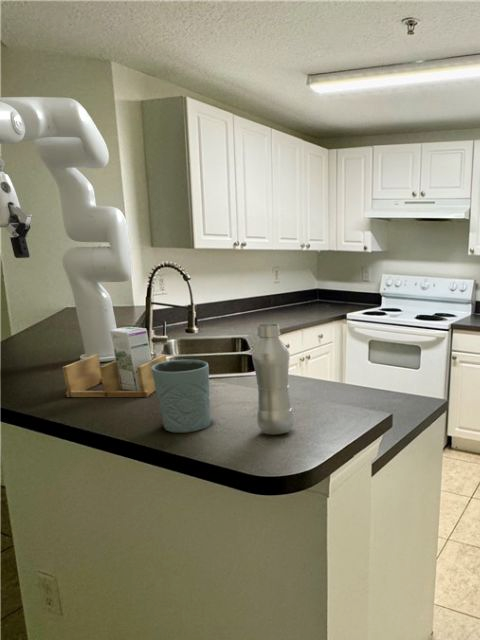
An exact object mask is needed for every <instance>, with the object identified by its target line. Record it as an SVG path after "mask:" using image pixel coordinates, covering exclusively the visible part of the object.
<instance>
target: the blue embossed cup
mask: <svg viewBox="0 0 480 640" xmlns="http://www.w3.org/2000/svg"><path fill="white" fill-rule="evenodd" d="M151 369H152V374H153V378H154V383H155V388H156V391H155V393H156V397H157V400H158V406H159V410H160V414H161V419H162V423H163V428H164V429H165V431H167V432H171V433H178V434H179V433H181V434H183V433H192V432H197V431H201V430H204V429H206V428H208V427H209V426H210V425H211V422H212V421H211V420H212V419H211V400H210V396H211V395H210V394H211V393H210V368H209V363H208V362H207V361H205V360H201V359H174V360H166V362H161V363H157V364H155V365H153V366H152V367H151Z"/></svg>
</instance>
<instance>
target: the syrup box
mask: <svg viewBox="0 0 480 640" xmlns="http://www.w3.org/2000/svg"><path fill="white" fill-rule="evenodd" d="M110 332H111V337H112V342H113V347H114V352H115V357H116V363H117V368H118V373H119V378H120V383H121V388H122V390H121V391H141V388H140V383H139V377H138V371H137V367H138V366H140V365H142V364H144V363H146V362H149V361H151V360H153V359H152V355H151V347H150V342H149V335H148V330H147V328H145V327H135V326H124V327H117V329H114V330H110Z"/></svg>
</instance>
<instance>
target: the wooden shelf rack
mask: <svg viewBox="0 0 480 640" xmlns="http://www.w3.org/2000/svg"><path fill="white" fill-rule="evenodd" d="M166 361H167V355H166V354H164V353H163V354H160V355H159V356H157V357H154V358H153V359H152V360H151V361H149V362H146V363H144V364H142V365H140V366H138V367H137V371H138V377H139V383H140V388H141V391H126V390H122V388H121V383H120V378H119V373H118V368H117V363H116V360H114V361H109V362H108V363H106V364H103V365H101V362H100V361H99V356H98V354H95V355H92V356H90V357H87V358H84V359H82V360H80V359H79V360H76V361H74V362H72V363H68V364H66V365H64V366H62V367H61V368H62V373H63V377H64V382H65V387H66V391H65V394H66V398H148V397H150V395H151V394H153V393H154V392H156V388H155V383H154V378H153V374H152V369H151V367H152V366H153V365H155V364H157V363H161V362H166ZM101 383H102V387H103V388H102V389H103V390H90V389H92V388H93V387H95V386H97V385H100V384H101Z"/></svg>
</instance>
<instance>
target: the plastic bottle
mask: <svg viewBox="0 0 480 640" xmlns="http://www.w3.org/2000/svg"><path fill="white" fill-rule="evenodd" d="M256 328H257V337H259V339H258V341H257V343H256V344H255V346H254V347H253V350H252V354H251V358H252V363H253V364H252V365H253V369H254V372H255V376H256V384H257V390H258V395H257V396H258V397H257V402H258V404H257V405H258V406H257V407H258V409H257V414H256V416H257V418H256V423H257V426H258V429H259V430H260V431H261V433H263V434H264V435H265V434H266V435H282V434H287V433H288V432H290V431H292V428H293V426H294V421H295V417H294V411H293V408H292V406H291V405H292V404H291V398H290V392H289V371H290V359H291V358H290V355H291V354H290V352H289V349H288V348H287V346H286V345H285V343H284V342H283V341H282V340H281V339H280V336H281V331H280V325H279V324H278V323H260V324H257V327H256Z"/></svg>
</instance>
